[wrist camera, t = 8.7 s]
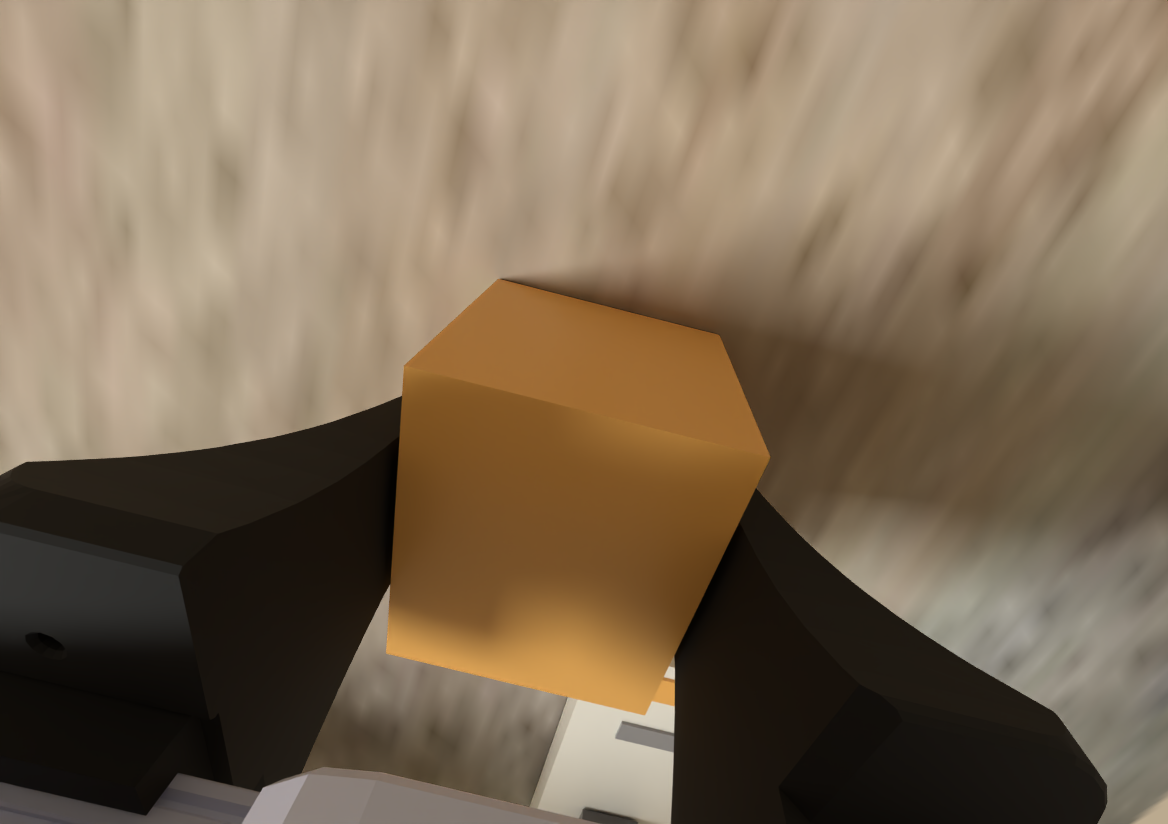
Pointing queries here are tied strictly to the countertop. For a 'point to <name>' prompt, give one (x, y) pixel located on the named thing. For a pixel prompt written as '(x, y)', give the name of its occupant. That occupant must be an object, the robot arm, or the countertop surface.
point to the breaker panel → (612, 760)
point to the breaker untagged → (603, 818)
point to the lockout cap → (564, 493)
